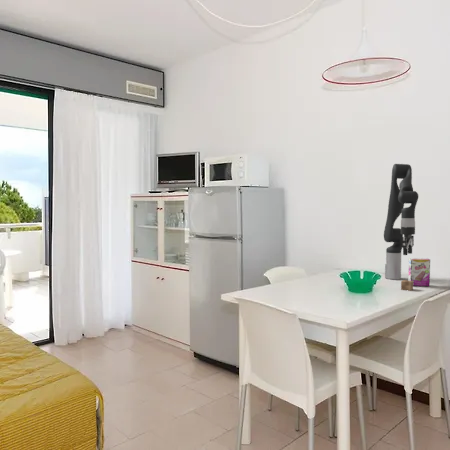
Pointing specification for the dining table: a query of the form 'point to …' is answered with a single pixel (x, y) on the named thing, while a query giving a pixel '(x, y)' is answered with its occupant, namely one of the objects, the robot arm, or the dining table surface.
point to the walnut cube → (406, 285)
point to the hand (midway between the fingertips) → (407, 254)
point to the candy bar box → (419, 271)
